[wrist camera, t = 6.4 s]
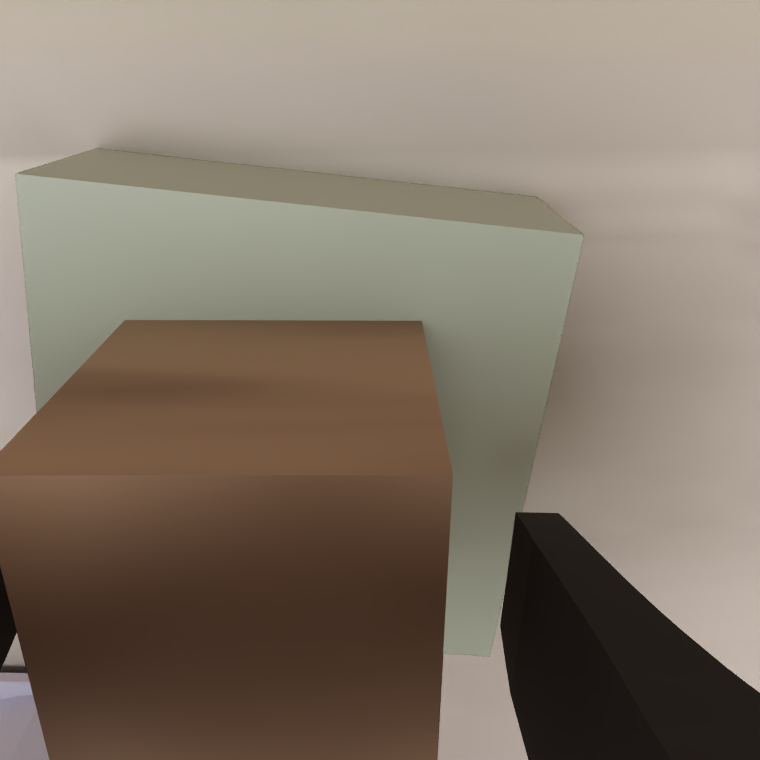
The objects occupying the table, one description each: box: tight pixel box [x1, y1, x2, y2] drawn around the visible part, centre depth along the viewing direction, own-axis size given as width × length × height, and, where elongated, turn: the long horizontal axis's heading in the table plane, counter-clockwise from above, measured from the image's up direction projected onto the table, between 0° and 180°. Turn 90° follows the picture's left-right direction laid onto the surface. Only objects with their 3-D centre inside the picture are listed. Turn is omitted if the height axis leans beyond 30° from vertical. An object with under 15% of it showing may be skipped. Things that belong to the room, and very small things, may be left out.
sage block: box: [15, 148, 584, 657], centre depth 15 cm, size 9×9×4 cm
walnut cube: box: [0, 320, 453, 760], centre depth 11 cm, size 5×5×5 cm
